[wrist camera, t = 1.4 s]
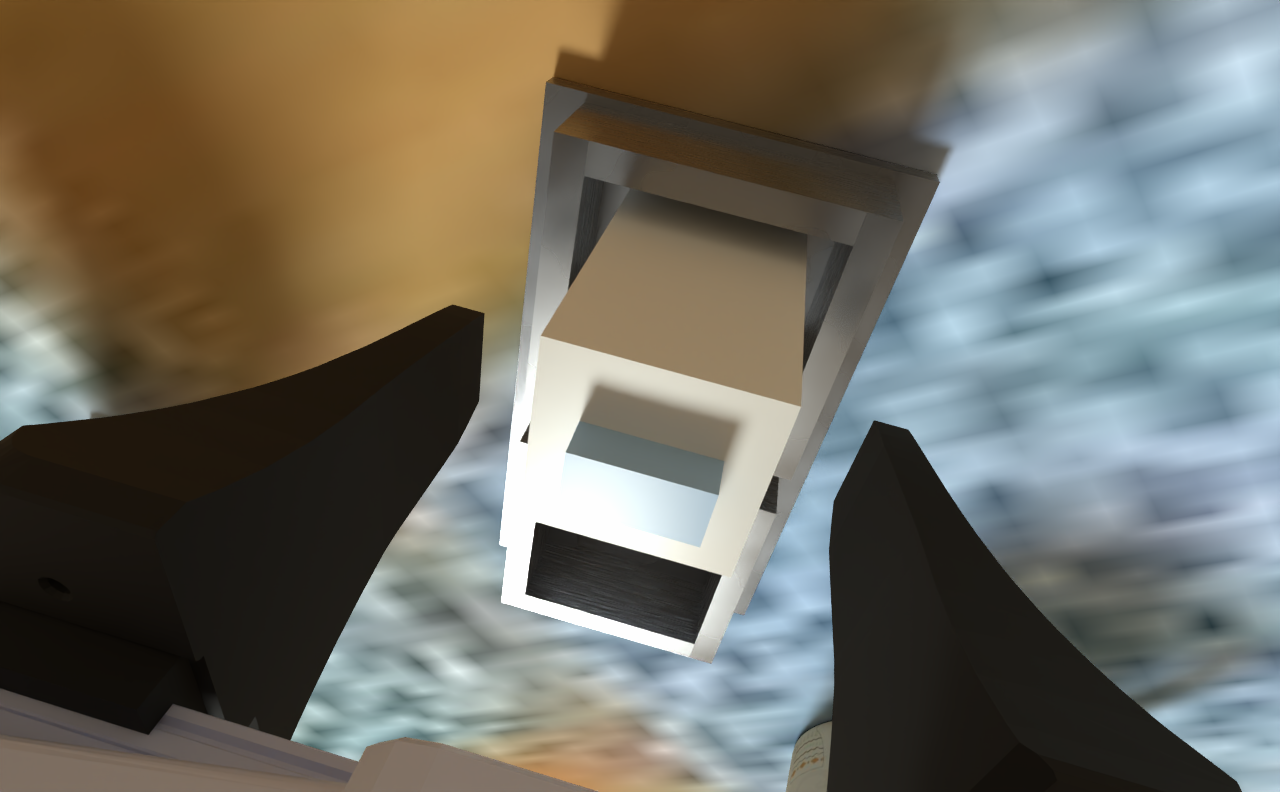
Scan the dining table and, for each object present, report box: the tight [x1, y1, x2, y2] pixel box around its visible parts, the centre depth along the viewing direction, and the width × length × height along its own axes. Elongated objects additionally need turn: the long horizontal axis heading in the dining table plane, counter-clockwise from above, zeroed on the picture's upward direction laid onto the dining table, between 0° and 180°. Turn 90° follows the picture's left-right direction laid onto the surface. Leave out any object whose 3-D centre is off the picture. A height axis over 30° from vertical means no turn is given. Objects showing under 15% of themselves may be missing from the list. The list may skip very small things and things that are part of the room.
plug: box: [519, 188, 807, 578], centre depth 14 cm, size 4×4×8 cm
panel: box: [500, 77, 940, 663], centre depth 19 cm, size 15×9×3 cm, turn 169°
